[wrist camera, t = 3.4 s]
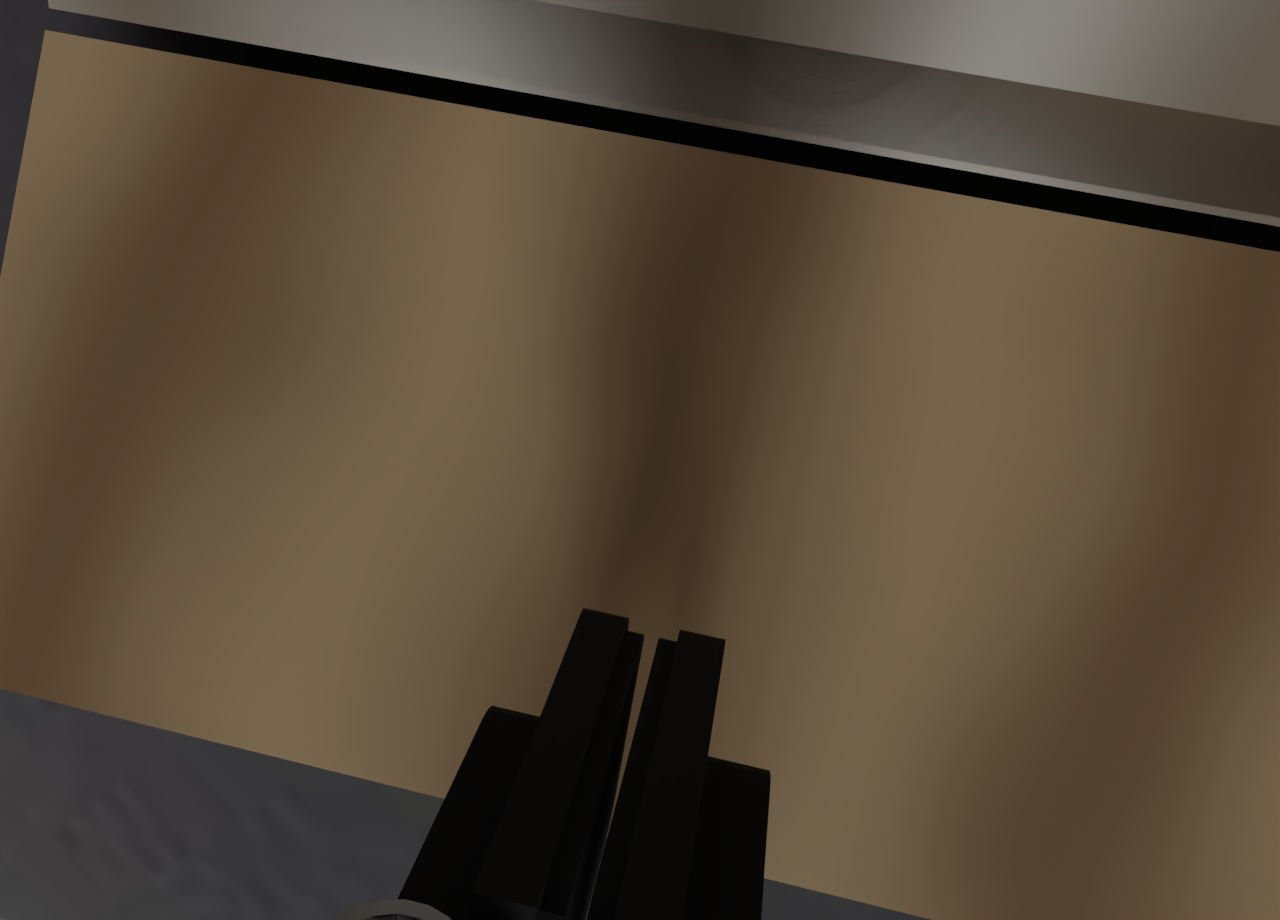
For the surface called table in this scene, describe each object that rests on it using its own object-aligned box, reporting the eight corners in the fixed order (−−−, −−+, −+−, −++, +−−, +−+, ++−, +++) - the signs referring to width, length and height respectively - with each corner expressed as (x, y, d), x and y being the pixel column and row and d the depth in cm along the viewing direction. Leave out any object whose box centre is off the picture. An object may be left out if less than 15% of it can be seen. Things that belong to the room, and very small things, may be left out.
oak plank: (1479, 330, 14) (1607, 311, 12) (1330, 956, 14) (1429, 1042, 12) (133, 83, 15) (44, 30, 13) (30, 642, 16) (-72, 670, 14)
